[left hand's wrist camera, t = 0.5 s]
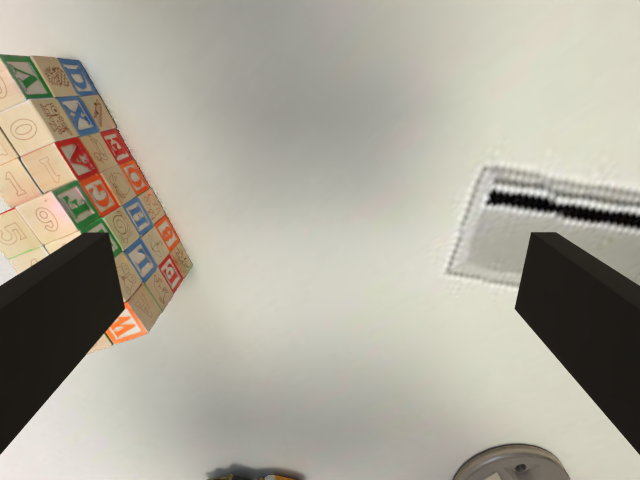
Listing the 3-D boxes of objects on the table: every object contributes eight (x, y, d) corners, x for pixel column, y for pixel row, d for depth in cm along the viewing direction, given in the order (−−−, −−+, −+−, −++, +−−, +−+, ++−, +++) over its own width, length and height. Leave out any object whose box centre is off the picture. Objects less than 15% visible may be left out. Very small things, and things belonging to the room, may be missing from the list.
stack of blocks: (20, 85, 35) (-126, 88, 23) (80, 58, 34) (-41, 47, 23) (143, 284, 42) (78, 359, 31) (195, 266, 42) (148, 336, 30)
